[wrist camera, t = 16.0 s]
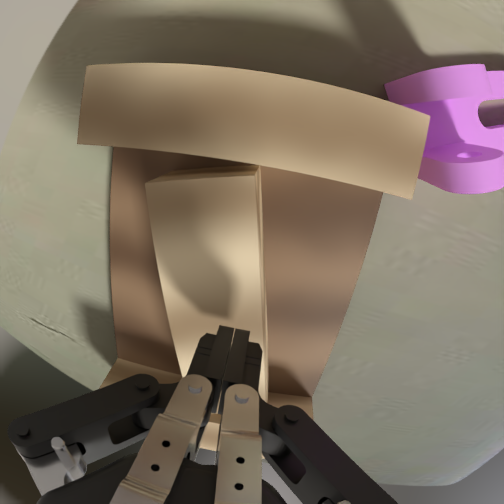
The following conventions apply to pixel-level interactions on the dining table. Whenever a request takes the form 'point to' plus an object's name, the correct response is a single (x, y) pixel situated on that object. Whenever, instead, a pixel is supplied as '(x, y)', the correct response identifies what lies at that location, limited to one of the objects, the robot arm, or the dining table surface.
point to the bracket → (456, 126)
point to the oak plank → (211, 256)
